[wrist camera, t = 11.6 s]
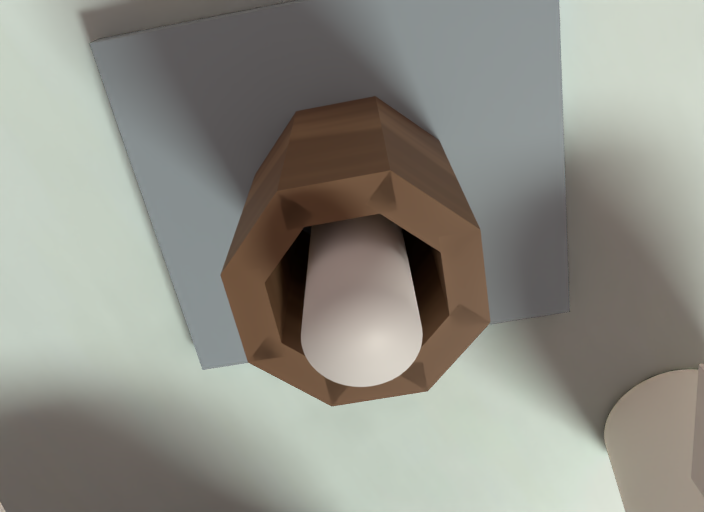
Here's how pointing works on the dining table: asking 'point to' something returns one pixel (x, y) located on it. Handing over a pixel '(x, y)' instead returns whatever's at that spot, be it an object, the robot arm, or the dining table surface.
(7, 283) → the dining table surface
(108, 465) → the dining table surface
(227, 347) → the post block
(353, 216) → the collar
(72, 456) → the dining table surface
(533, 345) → the dining table surface
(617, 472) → the cup
